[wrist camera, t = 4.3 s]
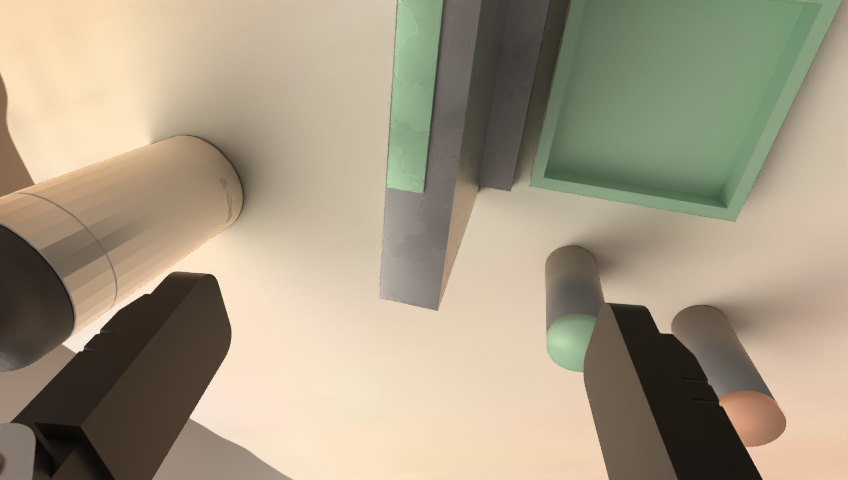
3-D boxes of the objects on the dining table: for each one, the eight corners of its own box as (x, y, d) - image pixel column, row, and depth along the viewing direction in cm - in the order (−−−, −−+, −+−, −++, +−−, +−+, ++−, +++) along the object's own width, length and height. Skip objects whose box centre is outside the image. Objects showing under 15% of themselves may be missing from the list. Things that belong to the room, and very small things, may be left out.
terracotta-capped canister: (664, 338, 38) (700, 437, 29) (681, 300, 36) (727, 393, 27) (714, 349, 37) (767, 453, 28) (735, 311, 35) (799, 409, 27)
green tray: (530, 174, 34) (529, 186, 32) (577, -34, 27) (580, -38, 25) (722, 207, 32) (735, 221, 30) (821, -11, 25) (847, -12, 23)
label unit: (410, 181, 36) (330, 289, 22) (438, -131, 27) (328, -281, 13) (509, 198, 35) (488, 324, 21) (574, -122, 26) (616, -276, 12)
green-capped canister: (540, 282, 38) (540, 363, 29) (551, 241, 36) (555, 315, 27) (588, 292, 37) (603, 377, 29) (602, 251, 35) (622, 329, 27)
